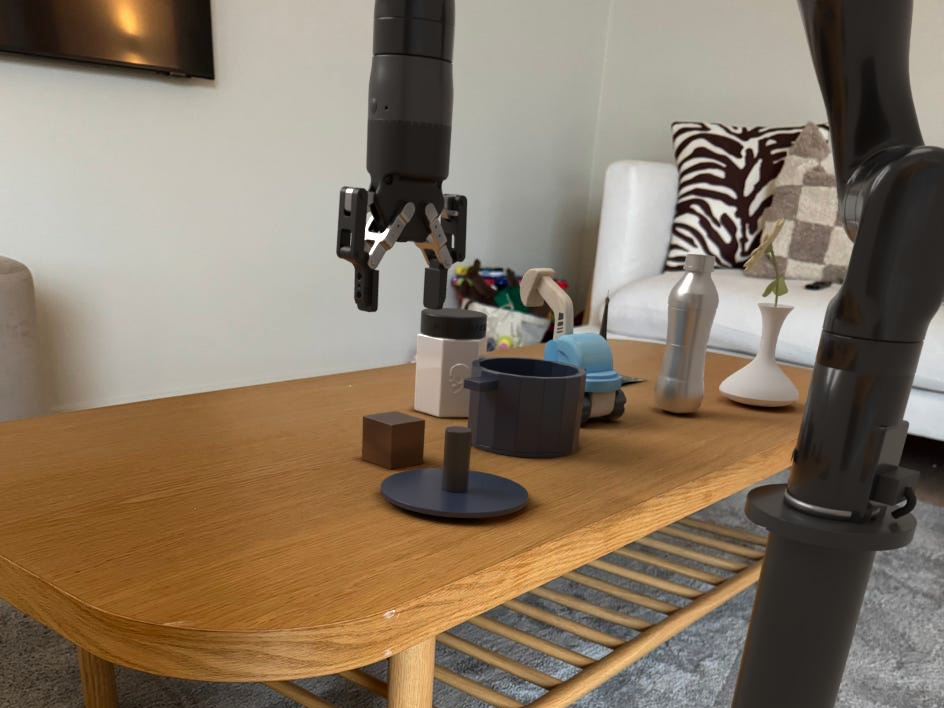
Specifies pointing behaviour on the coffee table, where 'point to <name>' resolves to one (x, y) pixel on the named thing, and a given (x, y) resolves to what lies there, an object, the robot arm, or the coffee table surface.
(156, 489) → the coffee table surface
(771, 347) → the flower in vase
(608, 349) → the toy excavator
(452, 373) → the jar
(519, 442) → the pot
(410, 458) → the block
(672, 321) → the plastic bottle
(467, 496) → the lid
